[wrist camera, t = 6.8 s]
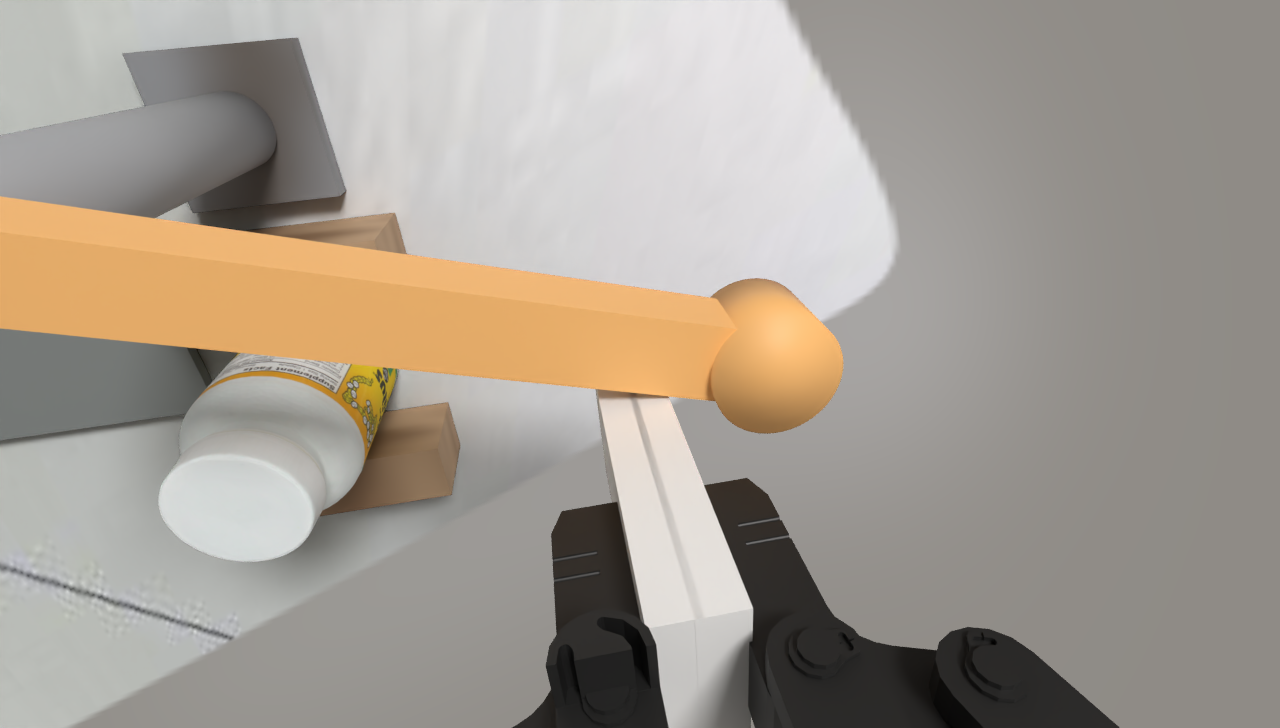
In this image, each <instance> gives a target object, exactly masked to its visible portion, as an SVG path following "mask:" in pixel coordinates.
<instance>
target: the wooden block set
mask: <svg viewBox="0 0 1280 728" xmlns="http://www.w3.org/2000/svg"><path fill="white" fill-rule="evenodd" d="M123 57H124V59H125V61H126V63H127V66H128V68H129V70H130V72H131V75H132V77H133V79H134V81H135V84H136V86H137V88H138V90H139V93H140V95H141V97H142V100H143V102H144V104H145V106H150V105H155V104H160V103H165V102H170V101H175V100H180V99H185V98H190V97H195V96H200V95H205V94H210V93H215V92H221V91H229V92H235V93H239V94H242V95H244V96H246V97H248V98H250V99H251V100H253V101H255V102H256V103H257V104H258V105H259V106H260V107H261V108H263V110H264V111H265V112H266V113H267V115H268V116H269V118H270V119H271V121H272V123H273V126H274V128H275V132H276V147H275V150H274V153H273V155H272V156H271V157H270V159H269V160H268V161H267V162H265V163H264V164H262V165H260V166H258V167H256V168H254V169H252V170H250V171H248V172H246V173H244V174H242V175H240V176H238V177H236V178H234V179H232V180H230V181H228V182H226V183H224V184H222V185H220V186H218V187H216V188H214V189H212V190H210V191H208V192H206V193H204V194H202V195H200V196H198V197H196V198H194V199H192V200H190V201H188V203H189V205H190V208H191V210H192V212H193V213H197V212H206V211H215V210H223V209H232V208H241V207H249V206H258V205H267V204H276V203H284V202H293V201H302V200H310V199H319V198H328V197H336V196H341V195H342V194H343V193H344V192H345V191H346V189H345V186H344V183H343V180H342V177H341V173H340V170H339V167H338V164H337V161H336V158H335V154H334V151H333V148H332V145H331V142H330V139H329V135H328V132H327V129H326V126H325V123H324V119H323V116H322V113H321V110H320V107H319V104H318V100H317V97H316V94H315V91H314V88H313V84H312V81H311V78H310V75H309V72H308V69H307V65H306V62H305V59H304V56H303V53H302V49H301V46H300V43H299V40H298V38H288V39H277V40H266V41H255V42H244V43H233V44H222V45H211V46H200V47H189V48H178V49H167V50H156V51H145V52H134V53H123ZM246 232H253V233H260V234H267V235H274V236H281V237H288V238H295V239H302V240H309V241H316V242H323V243H330V244H337V245H344V246H351V247H358V248H365V249H372V250H379V251H386V252H393V253H400V254H406V250H405V247H404V243H403V239H402V236H401V232H400V229H399V225H398V222H397V218H396V215H395V213H389V214H381V215H372V216H364V217H355V218H347V219H339V220H330V221H322V222H313V223H305V224H296V225H288V226H280V227H271V228H263V229H254V230H246ZM459 449H460V443H459V439H458V436H457V432H456V429H455V425H454V421H453V418H452V414H451V411H450V407H449V404H448V403H441V404H434V405H428V406H421V407H414V408H407V409H401V410H394V411H387V412H384V413H383V415H382V418H381V421H380V424H379V426H378V429H377V431H376V434H375V436H374V439H373V441H372V444H371V447H370V450H369V452H368V455H367V458H366V460H365V464H364V466H363V470H362V472H361V473H360V475H359V477H358V479H357V480H356V482H355V484H354V485H353V487H352V488H351V489H350V490H349V491H348V493H347V494H346V495H345V496H344V497H343V498H341V499H340V500H339V501H338V502H336V503H335V504H333V505H332V506H330V507H329V508H327V509H325V510H322V512H321V514H320V516H324V515H330V514H336V513H343V512H349V511H355V510H361V509H367V508H373V507H380V506H386V505H392V504H398V503H404V502H410V501H417V500H423V499H429V498H435V497H441V496H448V495H452V489H453V484H454V478H455V472H456V467H457V461H458V455H459Z"/></svg>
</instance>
